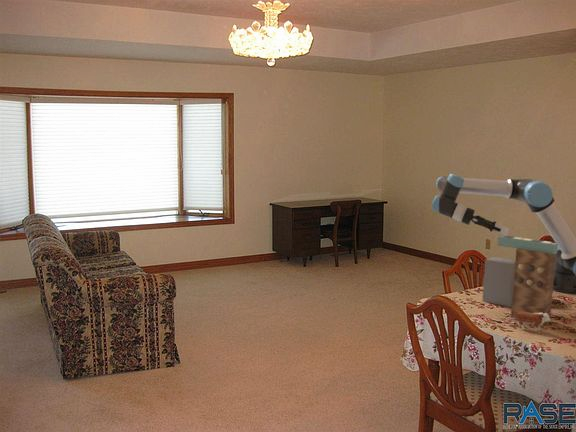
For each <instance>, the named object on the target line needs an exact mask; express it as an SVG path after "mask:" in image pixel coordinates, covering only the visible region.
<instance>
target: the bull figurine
mask: <svg viewBox="0 0 576 432" xmlns="http://www.w3.org/2000/svg"><path fill="white" fill-rule="evenodd" d="M517 317H518V319H517ZM515 320H516V321H517V326H518V328H521V330H523V331H526V328H525V325H524V322H525V323H526V325H528V326H529V325H530V324H534V329H533V331H534V332H536V333H537V332H538V331H540V332H541V331H542V329H541V326H542V324H543V323H544V322H547V321H549V322H551V317H550V318H549V315H548V314H547V313H529V312H522V311H517V312H516V318H515Z"/></svg>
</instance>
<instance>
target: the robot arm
mask: <svg viewBox="0 0 576 432" xmlns="http://www.w3.org/2000/svg"><path fill="white" fill-rule="evenodd" d="M435 185H436V188H437V189H438V190H439V191H440V192H441V194H440V195H438V194H437V195H435V196H434V198H433V201H432V202H431V205H430V208H431V210H432V211H434V212H437V213H438V214H440V215H443V216H446V217H448V218H451V219H453V221H458V222H461V223H463V224H465V225H470V223H471V222H472V223H474V225H478V226H480V227H484V228H485V229H488V230H489V232H491V233H492V232H496V233H498V234H500V235H502V236H508V234H509V233H510V228H509V227H507V226H504V225H501V224H499V223H497V221H495V220H494V221H491V220H488V219H486V218H485V217H482V216H481V215H474V214H475V209H472V208H470V207H467V206H465V205H463V204H461V203H457V202H456V201H457V200H458V196H459V194H470V195H484V196H495V197H496V196H497V197H499V196H500V197H505V198H506V199H511V200H516V201H518V202H522V203H525V204H526V205H527V207H528V208H529V209H530V211H531V213H532V214H537V216H538V218H539V219H540V221H541V223H542V224H543V225H544V227H545V228H546V231H548V233H549V235H550V236H551V238H552V239H553V241H554V243H558V250H557V253H556V258H555V270H554V281H553V291H556V292H559V293H565V294H576V237H575V235H574V234H573V232H572V231H571V229H570V228H569V226H568V225H567V223H566V221H565V220H564V218H563V217H562V215H561V213H560V212H559V210H558V209H557V208H556V205H555V201H556V200H555V198H554V196H553V190H552V187H550V185H549V184H547V183H546V182H544V181H542V180H535V179H531V178H524V179H523V178H519V179H518V178H517V179H509V178H508V179H506V180H497V179H496V180H495V179H485V178H484V179H481V178H480V179H479V178H468V177H467V178H466V177H461V176H458V175H456V174H453V173H450V174H449V175H448V176H446V175H445V176H444V175H443V176H440V177H438V178H437V179H436V182H435Z"/></svg>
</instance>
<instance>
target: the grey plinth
mask: <svg viewBox="0 0 576 432" xmlns="http://www.w3.org/2000/svg"><path fill="white" fill-rule="evenodd" d="M514 273H515V260H512V259H506V258H501V257H495V256H492V257H489V258H486V259H485V260H484V273H483V274H484V275H483V288H482V302H486V303H488V304H489V303H490V304H493V305H494V304H495V305H498V306H504V307H507V308H510V307H512V298H513V286H514Z"/></svg>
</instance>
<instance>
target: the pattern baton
mask: <svg viewBox="0 0 576 432" xmlns="http://www.w3.org/2000/svg"><path fill="white" fill-rule="evenodd" d="M497 246H498V247H504V248H511V249H515V250H516V249H523V250H529V251H536V252H542V253H548V254H556V253H557V250H558V243H556V242H552V241H547V240H539V239H532V238H523V237H519V236H515V237H514V236H510V235H507V236H505V235H499V236H497Z"/></svg>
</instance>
